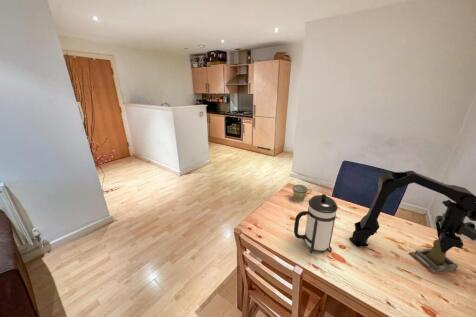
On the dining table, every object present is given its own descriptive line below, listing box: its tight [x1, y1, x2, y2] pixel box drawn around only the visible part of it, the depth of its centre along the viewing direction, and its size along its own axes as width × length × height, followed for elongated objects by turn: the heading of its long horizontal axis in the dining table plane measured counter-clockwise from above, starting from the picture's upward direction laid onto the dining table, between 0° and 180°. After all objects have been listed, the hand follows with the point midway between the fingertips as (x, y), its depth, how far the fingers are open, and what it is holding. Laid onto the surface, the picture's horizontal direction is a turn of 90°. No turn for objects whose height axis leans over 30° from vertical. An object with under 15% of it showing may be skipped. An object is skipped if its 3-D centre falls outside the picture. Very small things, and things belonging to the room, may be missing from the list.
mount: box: [408, 248, 459, 274], centre depth 92 cm, size 12×11×3 cm
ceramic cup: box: [292, 184, 312, 203], centre depth 141 cm, size 13×10×10 cm
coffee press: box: [293, 193, 339, 254], centre depth 97 cm, size 17×16×30 cm
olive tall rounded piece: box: [426, 239, 447, 266], centre depth 90 cm, size 6×6×11 cm
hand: (441, 245), depth 88 cm, fingers open, 9 cm apart
